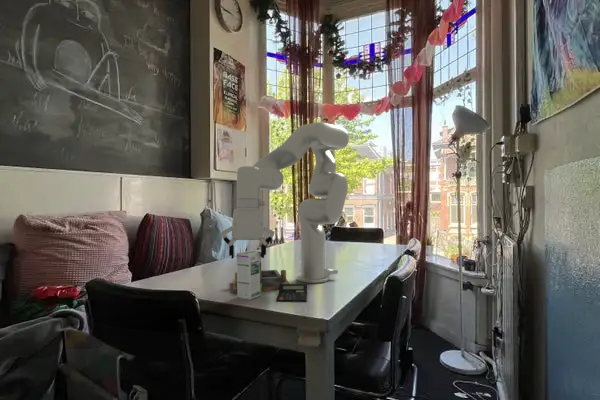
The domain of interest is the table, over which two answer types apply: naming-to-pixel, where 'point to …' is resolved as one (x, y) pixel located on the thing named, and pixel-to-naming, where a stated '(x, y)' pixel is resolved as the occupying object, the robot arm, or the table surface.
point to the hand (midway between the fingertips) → (247, 257)
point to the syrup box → (249, 275)
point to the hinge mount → (268, 280)
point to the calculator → (292, 293)
